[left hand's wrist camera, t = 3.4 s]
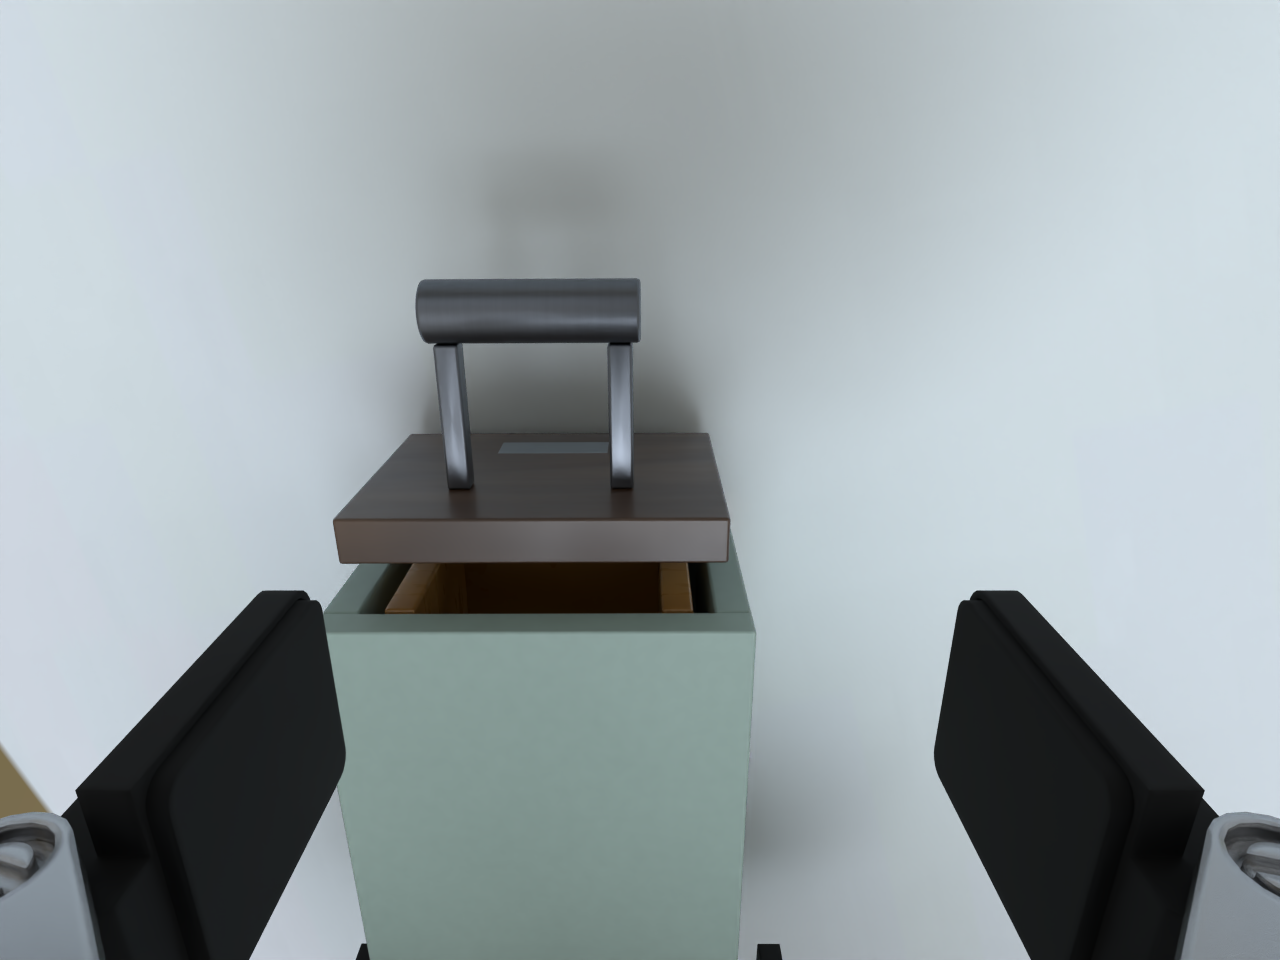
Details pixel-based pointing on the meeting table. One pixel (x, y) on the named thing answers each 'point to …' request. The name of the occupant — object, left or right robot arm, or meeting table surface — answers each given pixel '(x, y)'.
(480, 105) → the meeting table surface
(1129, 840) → the left robot arm
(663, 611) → the drawer
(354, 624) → the cabinet
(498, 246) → the meeting table surface
